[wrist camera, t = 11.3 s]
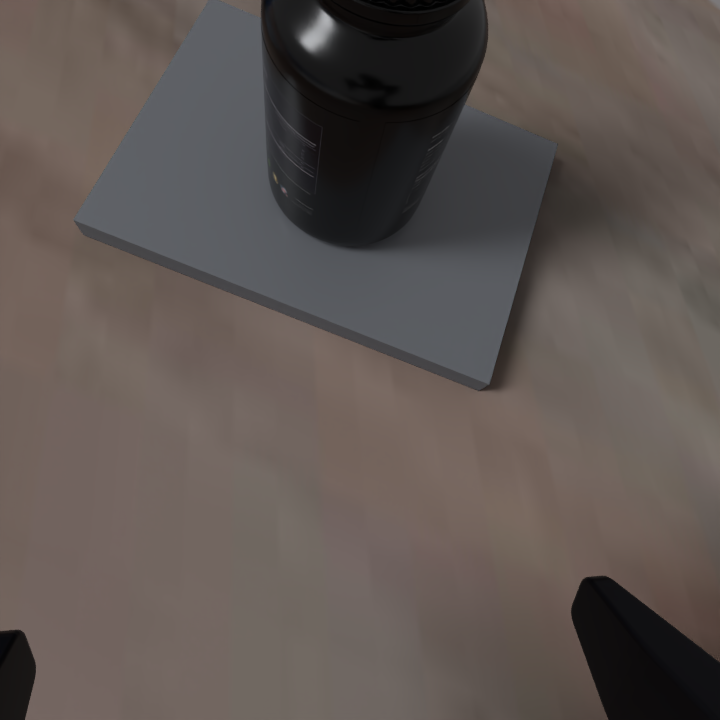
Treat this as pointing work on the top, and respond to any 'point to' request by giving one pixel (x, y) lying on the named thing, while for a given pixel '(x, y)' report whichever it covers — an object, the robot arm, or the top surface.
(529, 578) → the top surface
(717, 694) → the robot arm
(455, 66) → the supplement bottle
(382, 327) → the board
